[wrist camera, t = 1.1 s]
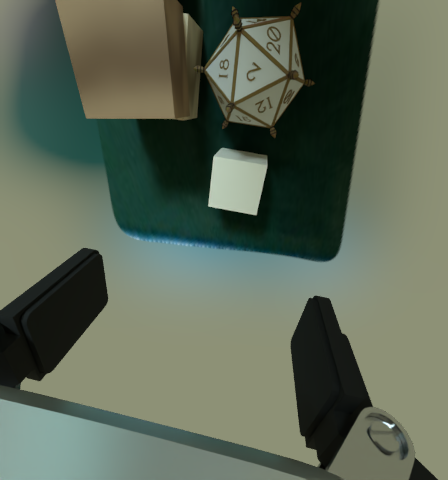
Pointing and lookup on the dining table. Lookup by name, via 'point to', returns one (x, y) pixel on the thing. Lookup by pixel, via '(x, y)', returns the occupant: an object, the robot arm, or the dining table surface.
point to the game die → (256, 69)
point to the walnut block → (128, 57)
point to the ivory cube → (237, 180)
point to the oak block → (192, 62)
